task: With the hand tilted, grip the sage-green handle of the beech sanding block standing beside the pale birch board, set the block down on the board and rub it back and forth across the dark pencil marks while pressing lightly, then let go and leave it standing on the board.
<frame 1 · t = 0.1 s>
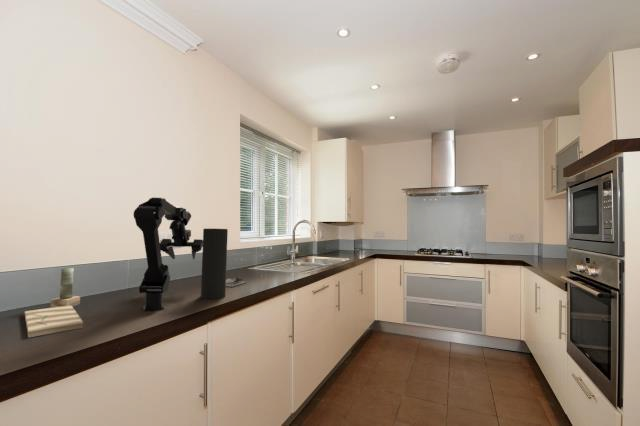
hand: (184, 258, 144), 15 cm above the worktop, tool tilted 35°, fingers open, 9 cm apart
vase: (213, 296, 133), on the worktop
birch board: (52, 321, 96), on the worktop
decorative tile: (232, 285, 160), on the worktop
sanding block: (65, 306, 113), on the worktop
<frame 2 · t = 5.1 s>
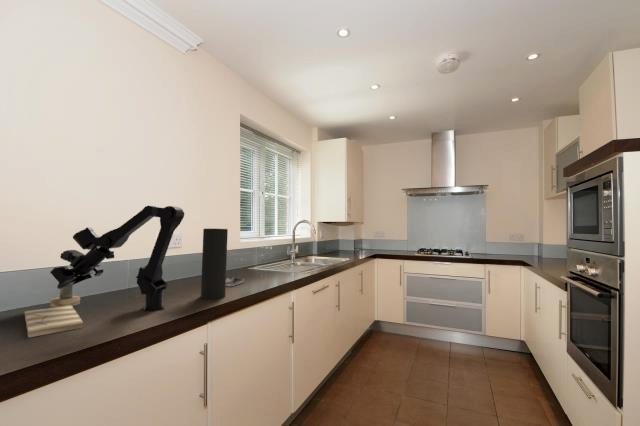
hand: (62, 286, 113), 7 cm above the worktop, tool tilted 45°, fingers closed on sanding block, 4 cm apart
sanding block: (65, 305, 113), on the worktop, touching gripper
when the fingers open (9 cm above the worktop, at t = 9.2 s): sanding block stays where it is, resting on birch board.
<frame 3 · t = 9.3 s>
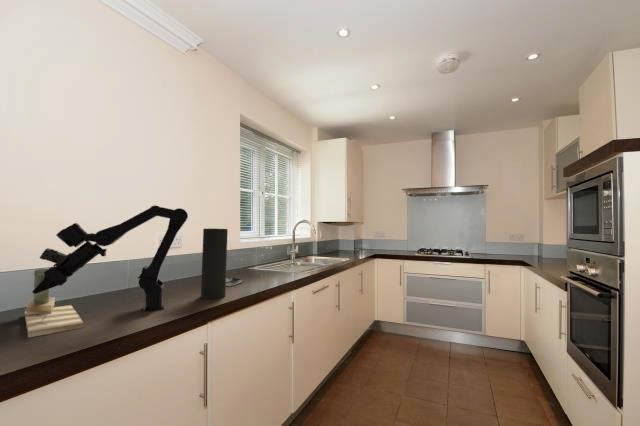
hand: (35, 291, 97), 9 cm above the worktop, tool tilted 45°, fingers open, 4 cm apart
sanding block: (40, 310, 100), point 2 cm above the worktop, tilted 12°, touching birch board, gripper
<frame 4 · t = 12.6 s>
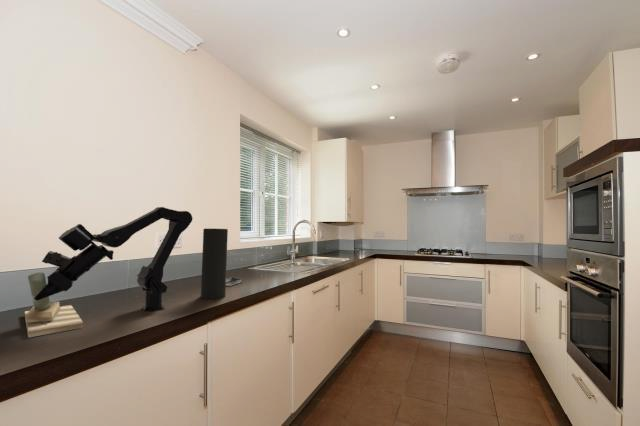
hand: (37, 297, 90), 9 cm above the worktop, tool tilted 45°, fingers closed on sanding block, 4 cm apart
sanding block: (44, 316, 92), point 3 cm above the worktop, tilted 16°, touching birch board, gripper
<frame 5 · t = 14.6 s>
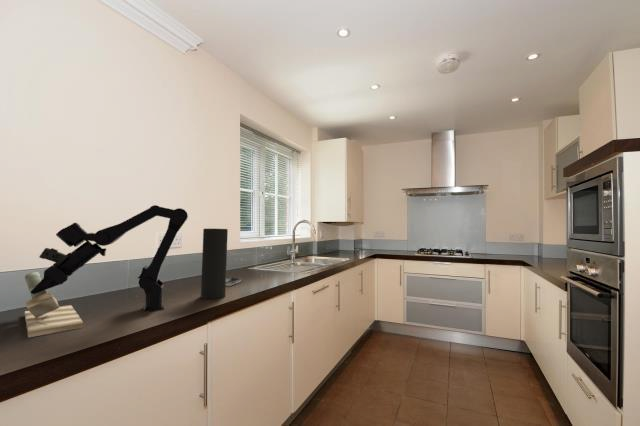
hand: (33, 291, 97), 9 cm above the worktop, tool tilted 45°, fingers closed on sanding block, 6 cm apart
sanding block: (44, 308, 94), point 5 cm above the worktop, tilted 49°, touching birch board, gripper
when the fingers open (9 cm above the worktop, at t = 16.7 s): sanding block drops 1 cm, resting on birch board.
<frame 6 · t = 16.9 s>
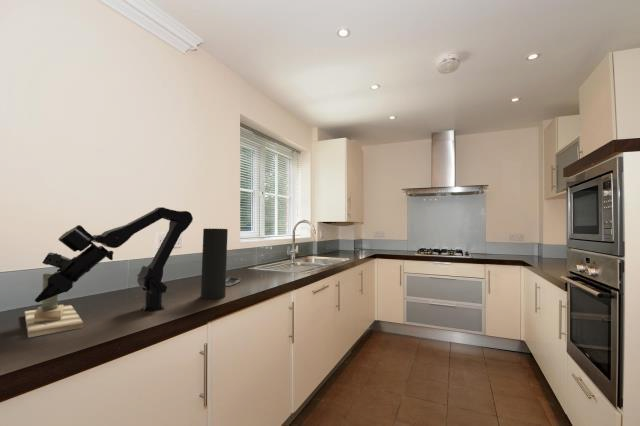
hand: (38, 299, 91), 8 cm above the worktop, tool tilted 45°, fingers open, 6 cm apart
sanding block: (49, 318, 93), point 2 cm above the worktop, touching birch board, gripper
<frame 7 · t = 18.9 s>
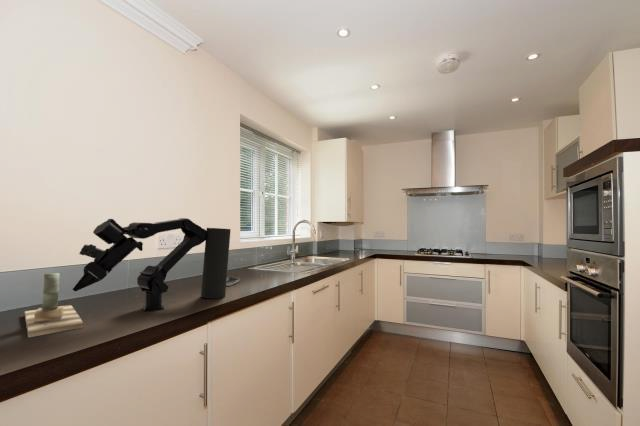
hand: (76, 288, 97), 11 cm above the worktop, tool tilted 45°, fingers open, 9 cm apart
vase: (213, 296, 133), on the worktop, touching arm
sanding block: (49, 319, 93), point 2 cm above the worktop, touching birch board
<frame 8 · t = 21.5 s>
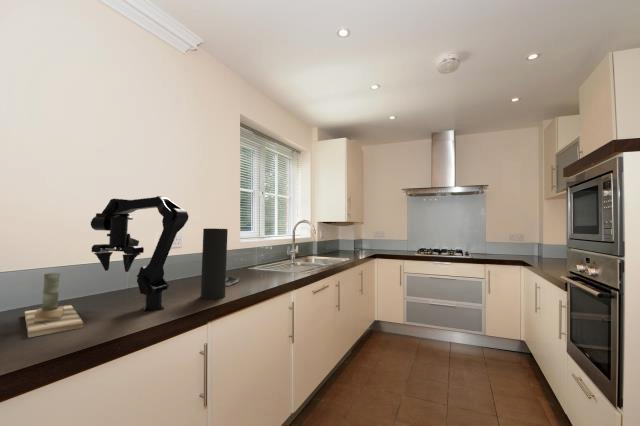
hand: (116, 271, 116), 13 cm above the worktop, tool pointing down, fingers open, 9 cm apart
vase: (213, 296, 133), on the worktop
at the end: sanding block inside the target area on the birch board (1.1 cm from its centre), point 1.5 cm above the birch board's base; sanding block tilted 0°; sanding block moved 22.6 cm from its start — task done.
